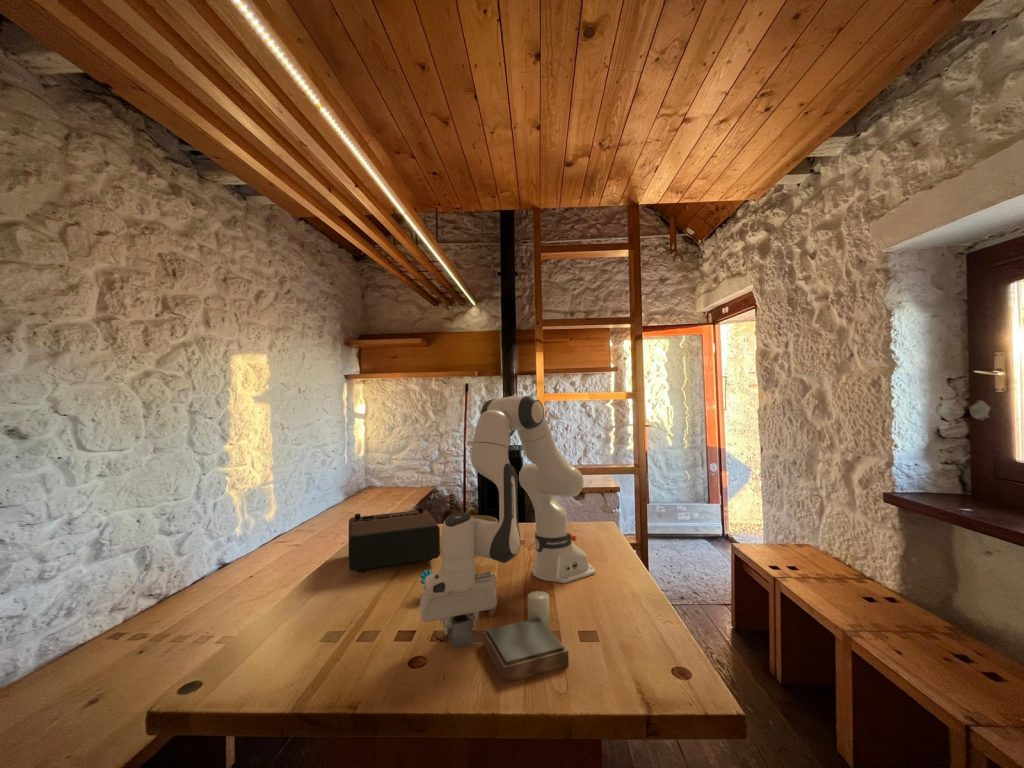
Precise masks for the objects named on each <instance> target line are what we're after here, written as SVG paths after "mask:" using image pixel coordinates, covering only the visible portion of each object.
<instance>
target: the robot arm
mask: <svg viewBox="0 0 1024 768" xmlns="http://www.w3.org/2000/svg"><path fill="white" fill-rule="evenodd" d="M512 431H517V434H518V437H519V440H520V443H521V444H520V445H521V447H522V449H523V452H524V455H525V457H526V459H528V460H529V462H530V463H527V464H523V466H521V469H520V471H519V473H518V474H519V475H518V480H519V481H517V473H516V469H515V467H514V466H513V465H512V464H511V462H510V459H509V448H510V438H511V437H510V434H511V433H510V432H512ZM473 434H474V435H473V438H472V444H471V448H470V449H471V450H470V462H471V464H472V466H473V468H474V469H475V471H476V472H478V473H479V474H480V475H482V476H483V477H485V478H486V479H488V480H489V481H492V483H494V484H495V485H496V488H497V490H498V501H499V502H498V508H499V511H498V512H499V515H498V516H499V517H498V518H499V519H498V521H497V522H493V521H486V520H482V519H475V518H472V517H471V516H472V515H471V514H470V513H468V512H456V513H452V514H450V515H448V516H447V517H445V519H444V521H443V524H442V528H441V529H442V530H441V539H440V551H441V555H442V563H441V569H438V570H437V571H436V572H435V573H433V572H432V573H431V575H429V576H427V577H426V578H425V580H424V583H425V584H424V586H425V589H424V588H423V590H422V592H421V594H420V595H421V596H420V602H419V615H420V619H421V620H422V622H423V623H428V622H435V621H440V624H441V625H442V627H443V632H444V635H447V634H451V627H450V625H449V624H448V625H447V618H450V617H455V616H459V615H464V614H469V615H470V614H472V616H471V617H470V618H471V619H472V621H473V630H475V628H476V626H475V625H476V622H477V619H478V617H479V615H480V613H479V612H483V611H484V610H489V609H493V608H495V606H496V607H497V604H498V601H497V598H496V595H497V592H496V591H497V590H496V588H495V587H496V586H497V576H496V574H495V573H491V571H487V572H484V573H476V562H475V557H476V556H477V557H482V558H487V559H491V560H493V561H496V562H499V563H502V564H505V563H507V562H509V561H511V560H512V559H513V558H515V556H517V555H518V553H519V551H520V549H521V534H520V533H521V532H520V527H519V513H518V512H519V508H518V507H519V506H518V505H519V503H518V484H517V483H518V482H519V484H520V486H521V488H523V490H524V491H525V492H526V493H527V495H528V496H529V499H530V500H531V503H532V506H533V509H534V515H535V533H534V546H535V547H534V548H535V557H534V558H535V559H534V564H533V569H532V575H533V576H534V577H535V578H537V579H539V580H543V581H549V582H556V583H559V584H567V583H570V582H573V581H576V580H579V579H582V578H586V577H589V576H592V575H594V574H596V570H595V567H594V566H593V564H591V563H589V560H588V556H587V554H586V553H585V551H584V550H582V549H581V548H579V547H578V546H577V545H576V544H574V543H573V542H576V541H577V536H576V535H575V534H573V533H572V534H571V533H570V532H568V531H567V530H568V529H567V528H568V527H567V513H566V510H565V508H564V507H563V506H562V505H560V503H559V502H558V501H557V499H556V497H561V498H571V497H577V496H578V495H579V494H580V493H581V491H582V490H583V487H584V477H583V473H581V470H580V469H578V468H577V467H575V466H573V465H572V464H571V463H569V461H567V459H566V458H565V456H564V455H562V453H561V452H560V451H559V449H558V447H557V446H556V442H555V440H554V438H553V434H552V432H551V429H550V426H549V423H548V420H547V418H546V416H545V409H544V405H543V404H542V402H541V400H540V399H539V398H537V397H536V396H532V395H525V396H524V395H523V396H521V395H511V396H506V397H500V398H499V397H498V398H492V399H489V400H487V401H485V402H484V403H483V405H482V407H481V410H480V416H479V418H478V420H477V424H476V426H475V430H474V433H473ZM447 636H448V635H447Z"/></svg>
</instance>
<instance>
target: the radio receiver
mask: <svg viewBox="0 0 1024 768" xmlns="http://www.w3.org/2000/svg"><path fill="white" fill-rule="evenodd" d="M440 534H441V531H440V526H439V525H438V522H437V520H436V519H434V518H433V516H432V515H431V514H430V513H429V510H427V509H425V508H424V506H419V507H418V510H417V509H416V510H407V511H399V512H398V511H397V512H391V513H381V514H373V515H363V516H361V513H356V514H355V513H354V517H351V518H349V520H348V569H349V570H350V571H351V572H356V573H366V572H370V571H371V572H372V571H377V570H384V569H385V570H386V569H390V568H396V567H403V566H404V567H405V566H410V565H416V564H422V563H423V564H425V563H429V562H431V561H432V560H434V559H437V558H439V557H440V556H441V537H440V536H441V535H440Z"/></svg>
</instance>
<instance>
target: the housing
mask: <svg viewBox="0 0 1024 768" xmlns="http://www.w3.org/2000/svg"><path fill="white" fill-rule="evenodd" d="M471 618H472V617H471V616H470V613H469V614H464V615H459V616H455V617H450V618H446V625H448V624H449V625H450V627H451V634H447V637H448V639H449V642H450V644H451V646H452V648H453V650H458V649H463V648H467V647H471V646H473V645H474V633H473V632H474V629H473V621H472V619H471Z"/></svg>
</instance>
